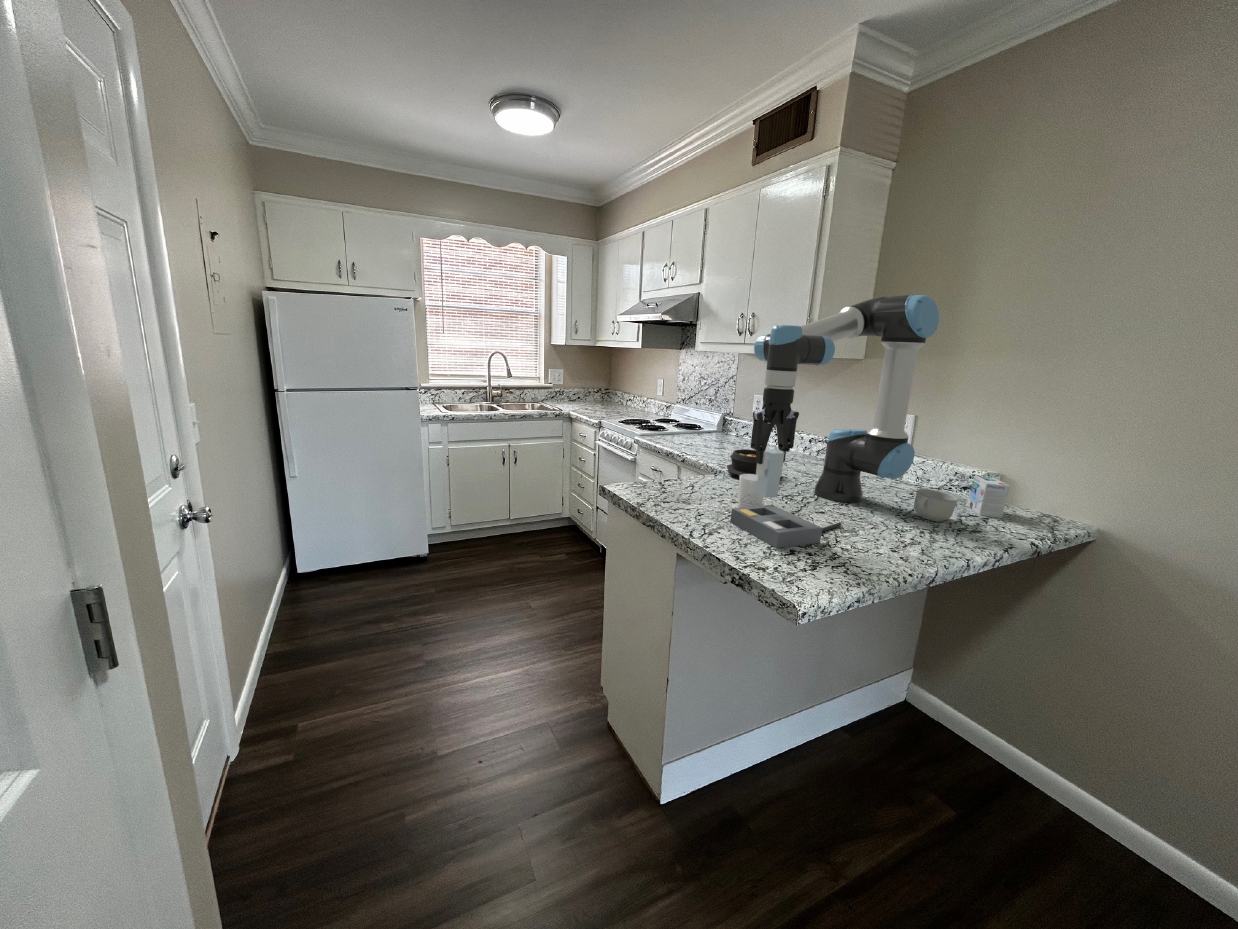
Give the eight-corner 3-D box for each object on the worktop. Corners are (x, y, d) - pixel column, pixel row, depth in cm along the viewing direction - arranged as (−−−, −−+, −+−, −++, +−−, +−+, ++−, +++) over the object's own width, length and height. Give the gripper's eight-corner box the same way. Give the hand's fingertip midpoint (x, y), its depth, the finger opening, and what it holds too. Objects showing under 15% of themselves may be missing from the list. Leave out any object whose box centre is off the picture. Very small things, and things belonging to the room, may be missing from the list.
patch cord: (837, 525, 144) (838, 521, 144) (841, 526, 143) (841, 523, 143) (805, 535, 134) (805, 532, 133) (808, 537, 133) (809, 533, 133)
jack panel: (770, 518, 146) (772, 504, 145) (819, 542, 130) (822, 527, 129) (730, 522, 141) (731, 507, 140) (776, 548, 124) (778, 532, 123)
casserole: (764, 485, 183) (767, 462, 181) (715, 475, 192) (718, 453, 190) (783, 473, 204) (786, 452, 202) (738, 464, 213) (740, 445, 211)
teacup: (928, 511, 163) (933, 487, 161) (961, 523, 153) (966, 497, 151) (896, 514, 158) (901, 489, 156) (928, 526, 148) (933, 500, 146)
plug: (767, 492, 140) (773, 450, 138) (777, 497, 137) (783, 453, 134) (753, 493, 138) (759, 450, 136) (762, 497, 135) (769, 453, 132)
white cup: (743, 503, 159) (746, 472, 157) (767, 509, 154) (771, 477, 152) (731, 508, 153) (735, 476, 151) (755, 515, 148) (760, 482, 146)
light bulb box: (966, 506, 172) (973, 475, 169) (988, 508, 170) (996, 477, 168) (979, 515, 162) (986, 483, 159) (1003, 518, 160) (1011, 485, 158)
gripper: (796, 386, 138) (785, 469, 143) (741, 385, 131) (732, 473, 136) (816, 389, 131) (804, 476, 137) (760, 388, 124) (750, 480, 130)
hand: (768, 474), depth 136 cm, fingers closed on plug, 5 cm apart
